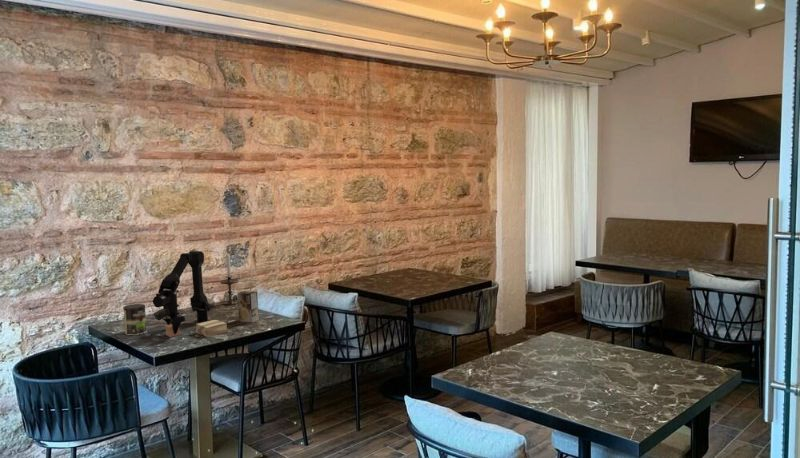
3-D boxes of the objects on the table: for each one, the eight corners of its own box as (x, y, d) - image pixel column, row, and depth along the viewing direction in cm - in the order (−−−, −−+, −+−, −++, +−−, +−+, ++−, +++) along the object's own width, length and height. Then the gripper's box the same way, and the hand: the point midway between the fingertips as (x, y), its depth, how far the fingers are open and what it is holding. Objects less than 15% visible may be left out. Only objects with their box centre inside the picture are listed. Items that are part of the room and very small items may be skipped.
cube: (166, 335, 293) (165, 325, 293) (175, 333, 297) (175, 323, 296) (170, 337, 290) (169, 327, 289) (179, 334, 293) (179, 325, 293)
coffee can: (151, 331, 300) (149, 305, 298) (132, 336, 291) (131, 309, 290) (138, 329, 305) (137, 302, 304) (120, 333, 296) (118, 307, 295)
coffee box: (259, 319, 320) (258, 291, 319) (252, 322, 314) (251, 293, 313) (245, 318, 324) (244, 290, 322) (238, 321, 318) (237, 292, 316)
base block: (196, 333, 297) (195, 323, 296) (215, 328, 305) (215, 319, 304) (207, 337, 289) (206, 327, 289) (227, 332, 297) (226, 323, 297)
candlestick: (234, 305, 354) (232, 249, 350) (218, 305, 356) (215, 249, 352) (242, 301, 365) (239, 247, 361) (226, 301, 367) (223, 246, 363)
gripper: (148, 302, 293) (149, 332, 294) (162, 308, 279) (164, 340, 281) (169, 299, 300) (171, 328, 302) (184, 304, 287) (186, 335, 288)
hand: (172, 332), depth 293 cm, fingers closed on cube, 5 cm apart
